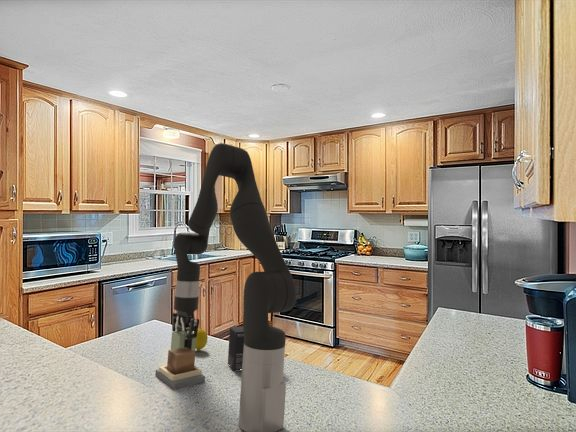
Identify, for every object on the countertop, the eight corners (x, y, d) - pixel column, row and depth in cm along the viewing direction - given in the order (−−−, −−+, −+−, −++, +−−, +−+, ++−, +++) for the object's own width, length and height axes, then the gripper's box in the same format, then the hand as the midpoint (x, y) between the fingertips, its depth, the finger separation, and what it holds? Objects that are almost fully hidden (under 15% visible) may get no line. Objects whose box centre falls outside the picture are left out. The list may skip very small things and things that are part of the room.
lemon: (202, 354, 121) (204, 330, 122) (187, 352, 123) (189, 328, 123) (209, 349, 127) (210, 326, 127) (194, 347, 128) (196, 325, 129)
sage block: (194, 353, 112) (196, 333, 112) (178, 356, 108) (180, 336, 108) (186, 348, 116) (187, 330, 116) (170, 351, 112) (172, 332, 112)
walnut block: (193, 373, 100) (195, 352, 100) (175, 377, 96) (177, 355, 96) (184, 367, 104) (186, 347, 104) (166, 371, 100) (168, 350, 100)
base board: (204, 381, 98) (205, 371, 99) (174, 389, 92) (175, 378, 92) (184, 368, 107) (185, 359, 107) (155, 374, 101) (156, 365, 101)
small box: (264, 360, 119) (267, 324, 120) (272, 368, 112) (275, 329, 113) (226, 364, 113) (229, 326, 114) (232, 372, 107) (235, 331, 108)
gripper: (208, 297, 111) (205, 352, 109) (187, 291, 121) (183, 342, 120) (186, 298, 106) (182, 356, 104) (166, 292, 116) (161, 345, 114)
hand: (182, 348), depth 112 cm, fingers closed on sage block, 5 cm apart
